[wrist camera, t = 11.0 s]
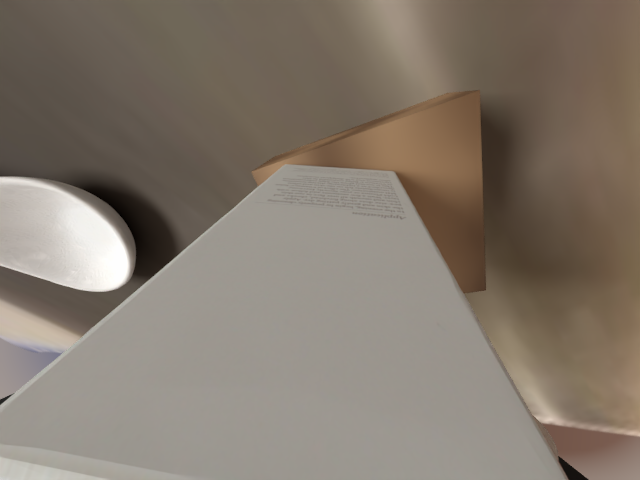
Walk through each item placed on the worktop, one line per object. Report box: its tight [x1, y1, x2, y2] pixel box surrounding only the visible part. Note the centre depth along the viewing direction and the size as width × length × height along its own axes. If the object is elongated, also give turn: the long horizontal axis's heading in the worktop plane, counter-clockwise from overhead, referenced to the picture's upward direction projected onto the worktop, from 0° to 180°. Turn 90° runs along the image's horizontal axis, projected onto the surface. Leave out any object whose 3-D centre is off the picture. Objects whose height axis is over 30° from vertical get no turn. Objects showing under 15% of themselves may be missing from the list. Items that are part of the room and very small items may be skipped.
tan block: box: [252, 90, 486, 293], centre depth 17 cm, size 12×12×5 cm
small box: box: [0, 164, 569, 480], centre depth 9 cm, size 8×6×13 cm
